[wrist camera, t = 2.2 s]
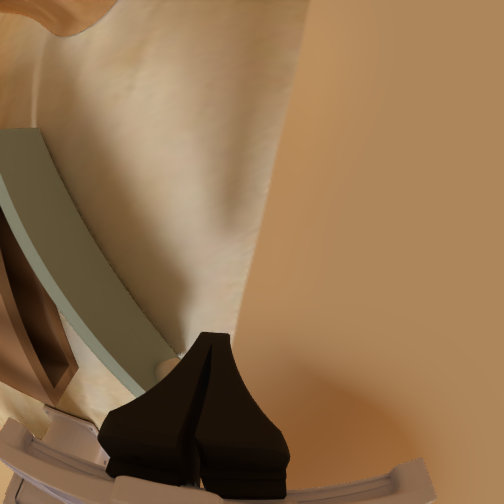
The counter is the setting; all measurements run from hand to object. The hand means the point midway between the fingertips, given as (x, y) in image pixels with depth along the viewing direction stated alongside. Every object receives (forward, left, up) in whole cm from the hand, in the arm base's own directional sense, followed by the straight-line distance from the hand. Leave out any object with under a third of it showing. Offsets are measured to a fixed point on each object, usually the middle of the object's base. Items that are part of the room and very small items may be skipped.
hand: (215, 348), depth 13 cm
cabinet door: (+3, +7, -4) cm, 9 cm away
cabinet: (+1, +19, -4) cm, 20 cm away
